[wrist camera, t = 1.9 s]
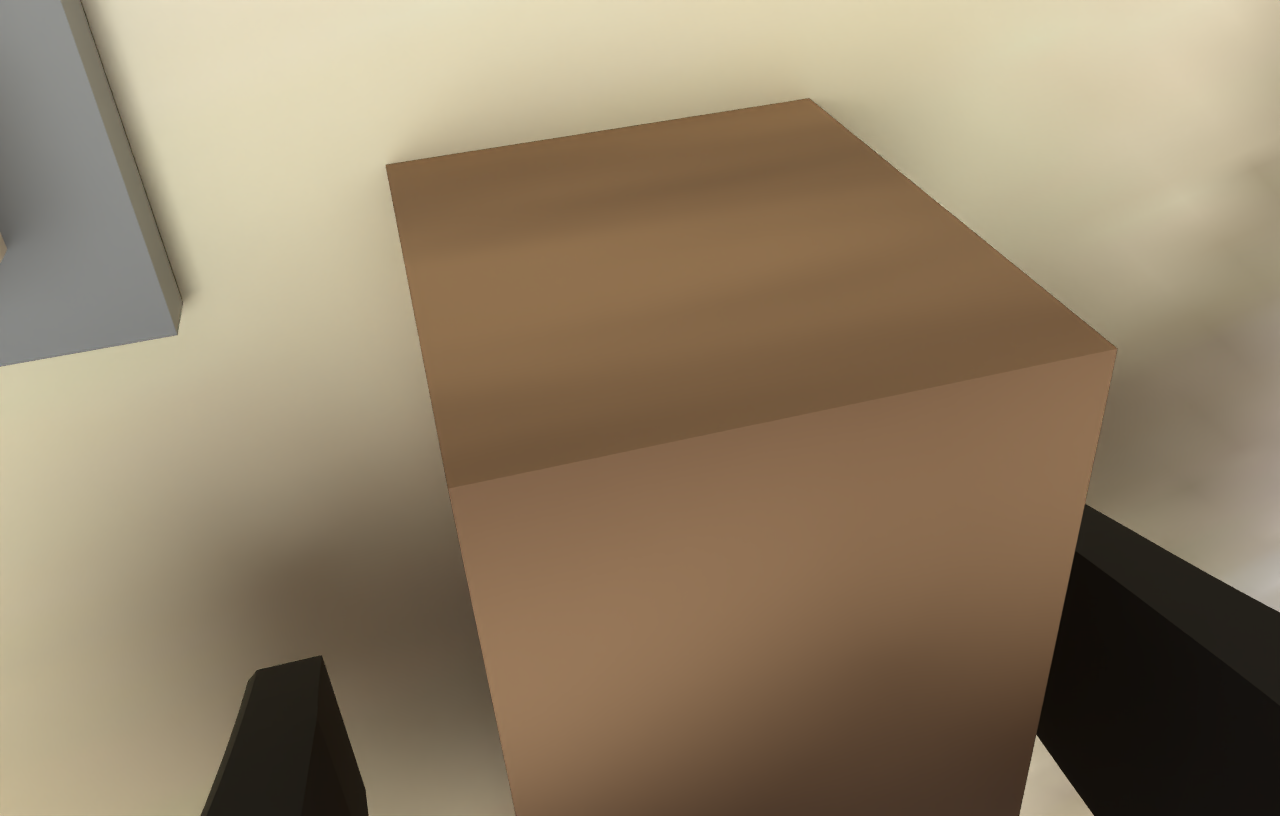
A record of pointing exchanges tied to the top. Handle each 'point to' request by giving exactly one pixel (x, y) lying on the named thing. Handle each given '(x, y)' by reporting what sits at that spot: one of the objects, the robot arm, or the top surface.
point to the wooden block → (748, 468)
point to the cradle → (71, 198)
